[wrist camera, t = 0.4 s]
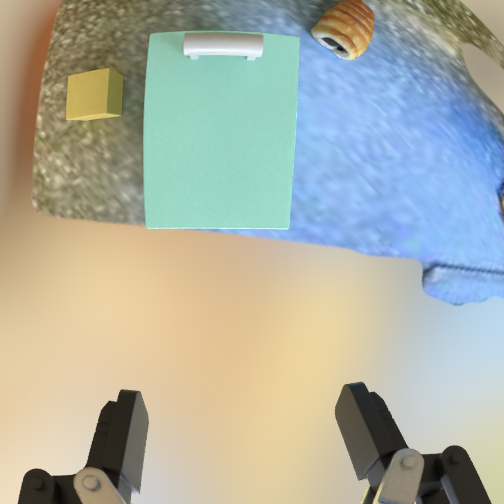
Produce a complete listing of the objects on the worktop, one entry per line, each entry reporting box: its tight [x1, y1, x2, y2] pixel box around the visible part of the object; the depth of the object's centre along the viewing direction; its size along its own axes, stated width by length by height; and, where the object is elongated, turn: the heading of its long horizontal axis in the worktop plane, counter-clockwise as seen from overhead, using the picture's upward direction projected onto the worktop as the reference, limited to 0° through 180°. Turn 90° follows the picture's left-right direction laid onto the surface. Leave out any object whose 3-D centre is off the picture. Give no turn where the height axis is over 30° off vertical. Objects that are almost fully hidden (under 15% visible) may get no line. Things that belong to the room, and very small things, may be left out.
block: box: [66, 68, 124, 121], centre depth 26 cm, size 5×5×5 cm
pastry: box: [311, 0, 374, 60], centre depth 26 cm, size 9×7×4 cm
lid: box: [143, 30, 299, 229], centre depth 21 cm, size 17×13×5 cm
